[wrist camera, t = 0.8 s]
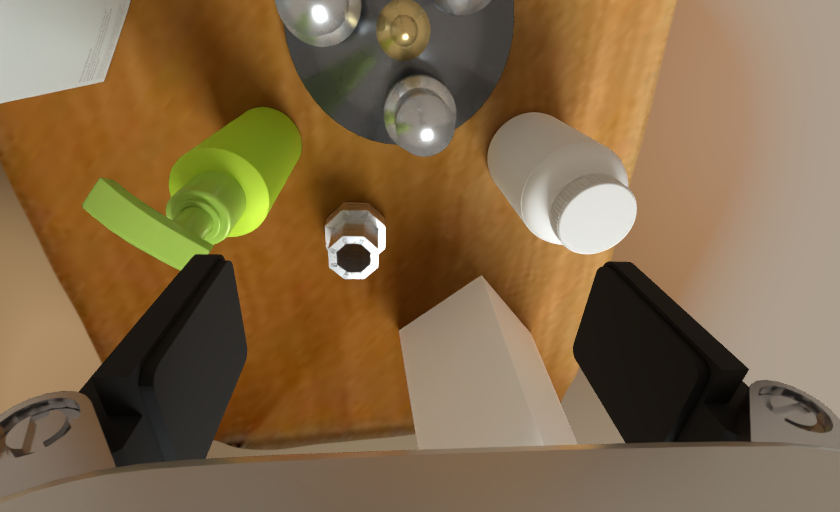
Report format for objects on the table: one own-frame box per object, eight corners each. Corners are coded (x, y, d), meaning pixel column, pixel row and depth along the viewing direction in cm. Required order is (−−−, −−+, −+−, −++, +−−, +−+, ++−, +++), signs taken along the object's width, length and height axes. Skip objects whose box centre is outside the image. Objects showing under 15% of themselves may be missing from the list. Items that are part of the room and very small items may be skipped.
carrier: (271, -130, 28) (240, -174, 21) (528, -105, 30) (568, -138, 23) (297, 139, 37) (280, 163, 30) (492, 145, 38) (515, 168, 32)
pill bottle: (493, 202, 42) (546, 284, 29) (478, 125, 37) (531, 180, 25) (569, 179, 41) (658, 252, 28) (562, 99, 37) (662, 141, 24)
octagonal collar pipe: (325, 201, 40) (318, 228, 35) (385, 202, 40) (386, 229, 35) (329, 253, 43) (322, 285, 38) (384, 253, 43) (385, 285, 38)
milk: (481, 275, 46) (581, 518, 23) (530, 333, 51) (652, 578, 29) (398, 330, 49) (417, 593, 26) (453, 380, 54) (508, 636, 32)
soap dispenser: (247, 82, 34) (115, 146, 17) (315, 139, 37) (261, 244, 20) (209, 134, 36) (54, 240, 18) (276, 185, 39) (196, 318, 21)
